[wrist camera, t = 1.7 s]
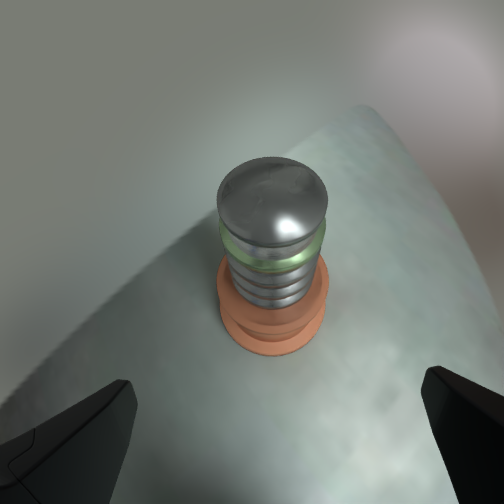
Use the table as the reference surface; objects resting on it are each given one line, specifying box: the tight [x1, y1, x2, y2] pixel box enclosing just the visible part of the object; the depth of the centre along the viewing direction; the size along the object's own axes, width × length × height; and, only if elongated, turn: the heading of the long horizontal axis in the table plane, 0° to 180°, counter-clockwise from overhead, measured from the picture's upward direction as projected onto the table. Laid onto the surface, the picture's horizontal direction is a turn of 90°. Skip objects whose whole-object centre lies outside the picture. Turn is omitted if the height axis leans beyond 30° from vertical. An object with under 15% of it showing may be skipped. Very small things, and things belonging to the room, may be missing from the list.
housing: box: [216, 254, 329, 356], centre depth 21 cm, size 8×8×5 cm
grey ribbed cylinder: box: [217, 157, 328, 310], centre depth 16 cm, size 5×5×8 cm
